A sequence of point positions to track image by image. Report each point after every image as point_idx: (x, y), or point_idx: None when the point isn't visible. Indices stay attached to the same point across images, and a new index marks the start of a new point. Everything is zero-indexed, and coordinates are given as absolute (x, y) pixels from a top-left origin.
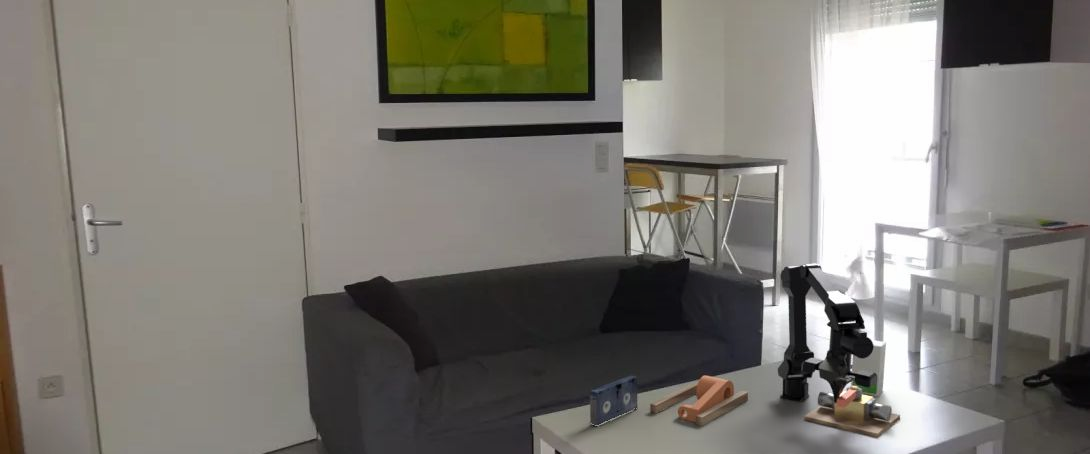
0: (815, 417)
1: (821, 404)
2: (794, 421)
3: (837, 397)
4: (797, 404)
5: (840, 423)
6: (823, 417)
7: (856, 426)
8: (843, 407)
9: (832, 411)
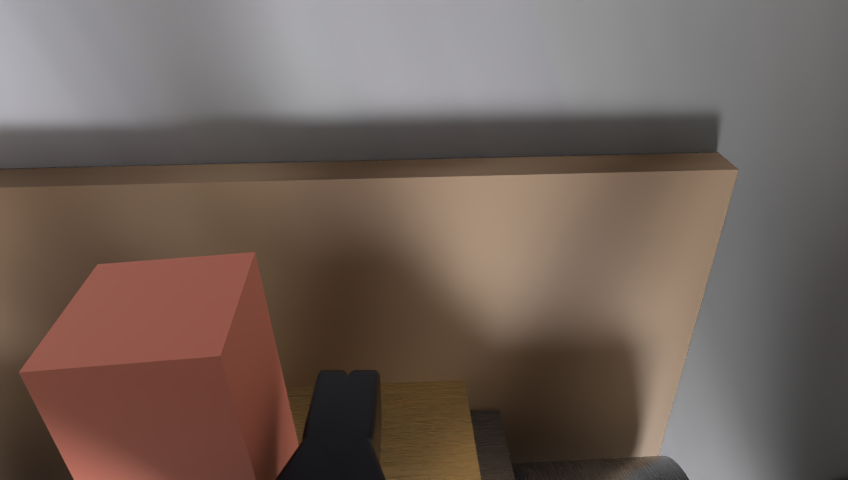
0: (610, 209)
1: (635, 461)
2: (817, 29)
3: (298, 458)
4: (839, 436)
5: (304, 217)
6: (532, 261)
7: (123, 243)
8: (117, 266)
9: (501, 420)
